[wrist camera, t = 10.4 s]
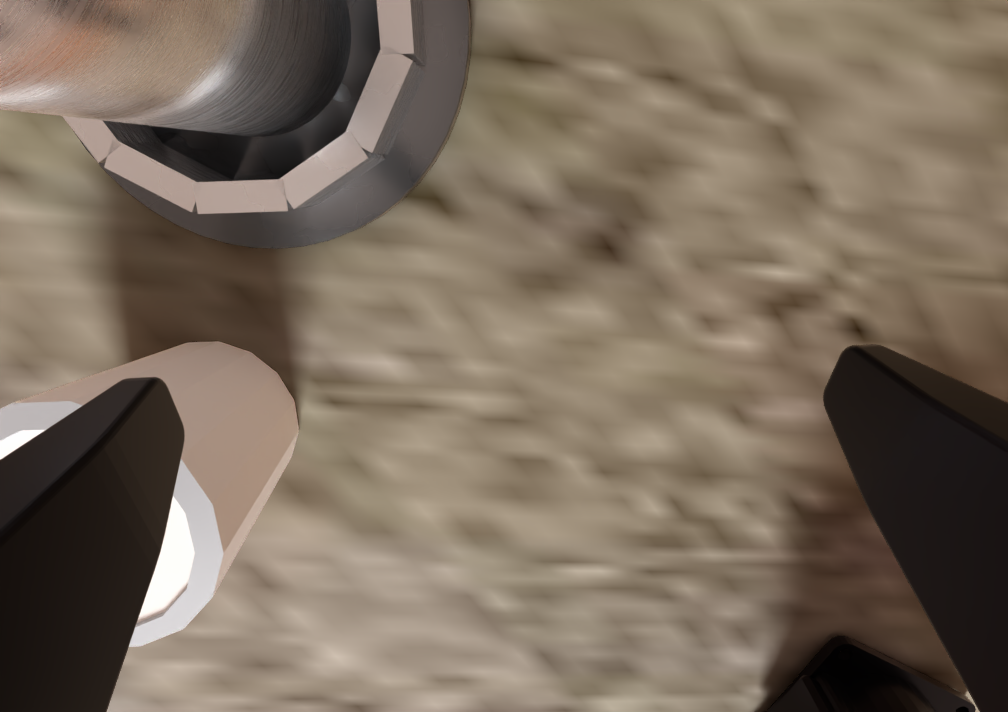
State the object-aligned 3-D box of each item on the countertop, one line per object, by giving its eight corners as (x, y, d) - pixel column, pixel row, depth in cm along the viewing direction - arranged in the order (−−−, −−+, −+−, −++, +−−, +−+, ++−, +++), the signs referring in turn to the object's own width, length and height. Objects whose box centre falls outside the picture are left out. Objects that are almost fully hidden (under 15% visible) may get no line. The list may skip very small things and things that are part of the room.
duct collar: (548, -72, 16) (554, -122, 13) (367, 310, 20) (340, 335, 17) (123, -335, 15) (27, -455, 12) (6, 125, 18) (-91, 117, 15)
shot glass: (124, 489, 22) (-51, 632, 15) (115, 308, 20) (-92, 379, 13) (311, 516, 22) (220, 670, 15) (322, 339, 20) (221, 426, 13)
